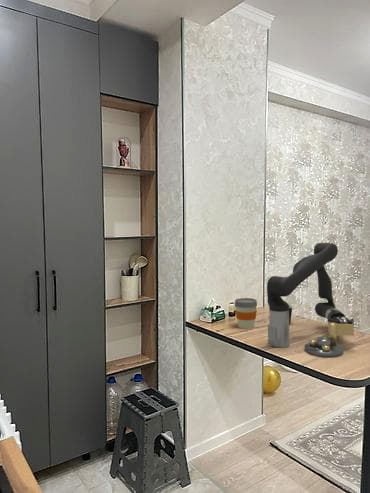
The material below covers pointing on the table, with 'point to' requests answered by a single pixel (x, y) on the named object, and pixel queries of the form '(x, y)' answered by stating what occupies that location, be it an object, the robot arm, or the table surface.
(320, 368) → the table surface
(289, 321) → the coffee mug
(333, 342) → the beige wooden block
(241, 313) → the reusable coffee cup
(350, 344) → the table surface
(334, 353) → the levelling base
